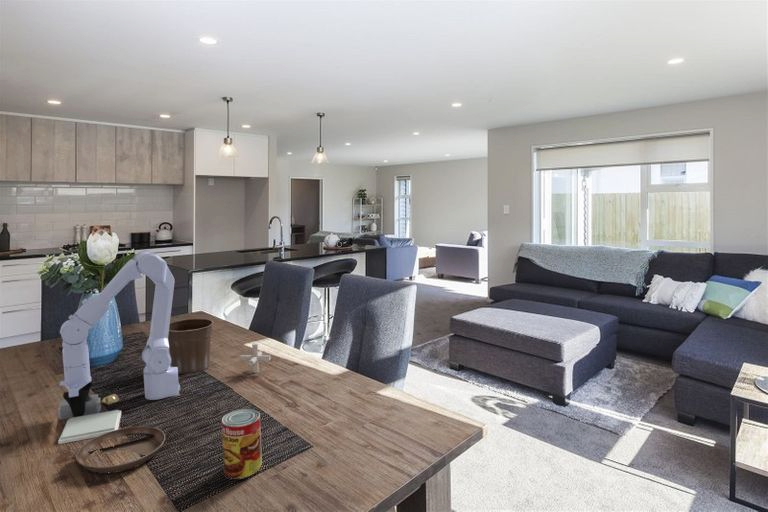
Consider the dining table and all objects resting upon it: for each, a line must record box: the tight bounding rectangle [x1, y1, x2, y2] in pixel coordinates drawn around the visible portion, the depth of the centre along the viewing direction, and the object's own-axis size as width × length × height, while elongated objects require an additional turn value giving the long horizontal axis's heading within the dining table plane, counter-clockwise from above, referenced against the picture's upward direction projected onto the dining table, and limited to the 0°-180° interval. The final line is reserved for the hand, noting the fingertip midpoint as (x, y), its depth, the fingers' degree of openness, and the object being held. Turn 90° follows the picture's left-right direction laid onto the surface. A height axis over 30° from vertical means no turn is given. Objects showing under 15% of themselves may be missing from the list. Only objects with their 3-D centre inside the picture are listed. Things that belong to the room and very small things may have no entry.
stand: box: [57, 409, 122, 445], centre depth 114 cm, size 12×12×2 cm
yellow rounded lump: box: [101, 393, 120, 405], centre depth 129 cm, size 3×3×3 cm
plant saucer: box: [75, 425, 166, 474], centre depth 103 cm, size 18×18×3 cm
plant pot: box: [168, 318, 214, 375], centre depth 158 cm, size 16×16×16 cm
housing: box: [57, 393, 102, 420], centre depth 122 cm, size 9×4×5 cm, turn 116°
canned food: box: [221, 408, 263, 478], centre depth 97 cm, size 8×8×12 cm
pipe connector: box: [239, 342, 272, 374], centre depth 154 cm, size 10×10×10 cm
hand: (80, 412), depth 122 cm, fingers closed on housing, 4 cm apart
